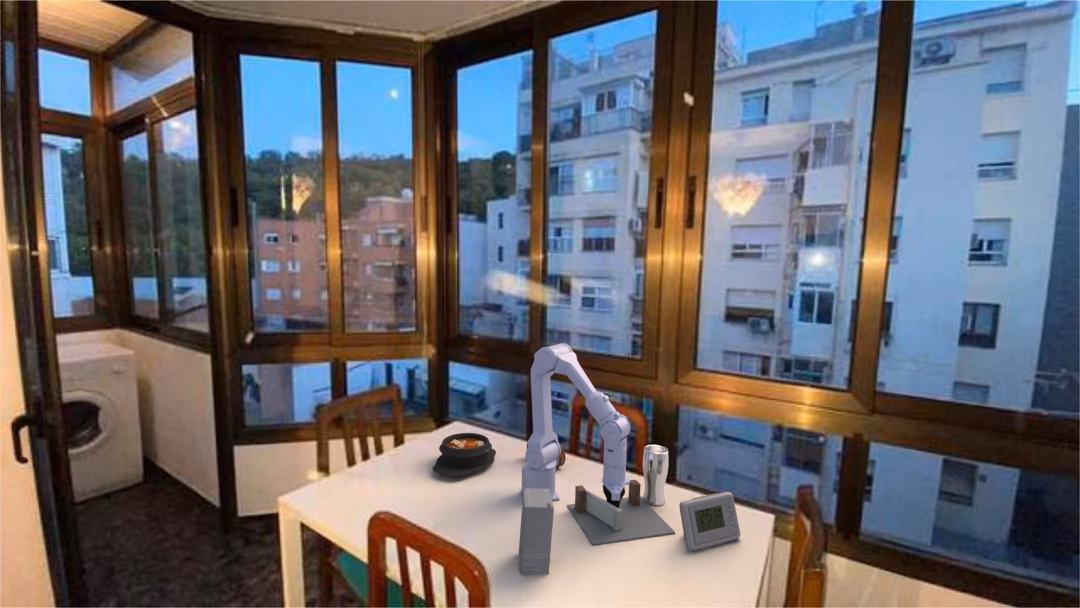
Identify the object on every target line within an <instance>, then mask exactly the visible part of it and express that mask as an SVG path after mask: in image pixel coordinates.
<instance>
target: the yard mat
mask: <svg viewBox="0 0 1080 608" xmlns="http://www.w3.org/2000/svg"><path fill="white" fill-rule="evenodd" d="M604 500H605V501H607V499H604ZM566 507H567V508H568V510H569V511H570V512H571V514H572V516H573V518H574V519H575V520H576V522H577V524H578V525H579V526H580V529H581V530H582V532H583V534H584V535H585V536H586V538H587V539H588V541H589V542H590V544H591V546H593V547H594V546H598V545H599V546H600V545H606V544H607V545H608V544H612V543H620V542H627V541H634V540H640V539H646V538H655V537H662V536H667V535H668V536H669V535H675V534H676V531H675V530H674V529H673V528H671V526H670V525H669V524H668V523H667V522H666V521H665V520H664V519H663V518H662V516H660V515H659V513H657V512H656V511H655V510H654V508H652V506H651V505H650V504H648V503H647V502H646V501H645V500H644V499H643V497H642V496H641V495H640V506H632V505H631V504H630V503H629V501H628V497H622V499H621V502H620V505H619V508H620V509H622V510H623V516H622V529H620V530H617V531H616V530H614V529H613V527H611V526H610V525H608V524H606V523H605V522H603V521H602V520H600V519H599V518H597V517H595V516H594V515H592V514H591V513H589V512H588V511H586V512H585V513H578V512H577V510H576V509H575V503H572V504H570V503H569V504H567V506H566Z"/></svg>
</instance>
